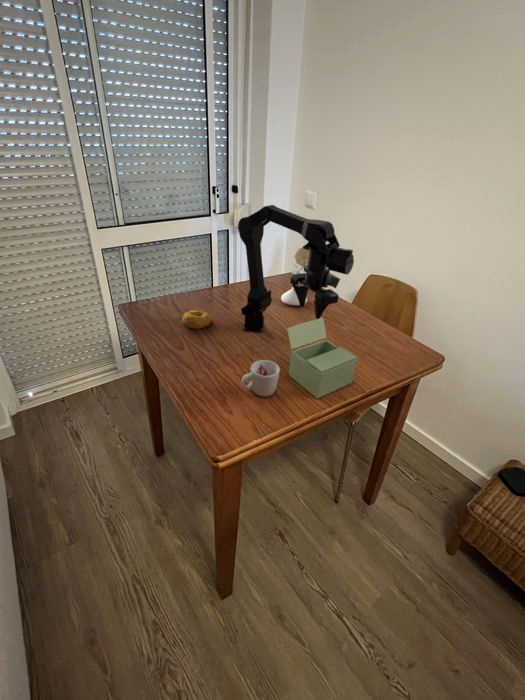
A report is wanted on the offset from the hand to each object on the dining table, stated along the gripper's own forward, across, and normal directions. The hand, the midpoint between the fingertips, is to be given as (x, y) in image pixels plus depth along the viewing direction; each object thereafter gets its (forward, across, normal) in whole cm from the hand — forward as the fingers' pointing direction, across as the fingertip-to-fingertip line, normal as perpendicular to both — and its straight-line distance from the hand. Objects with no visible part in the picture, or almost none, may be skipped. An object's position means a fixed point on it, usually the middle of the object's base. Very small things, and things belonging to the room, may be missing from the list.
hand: (309, 312), depth 114 cm
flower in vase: (+14, +33, -16) cm, 39 cm away
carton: (+13, -17, +5) cm, 22 cm away
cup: (+14, -16, +25) cm, 32 cm away
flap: (+1, -9, +7) cm, 11 cm away
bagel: (+14, +30, +29) cm, 44 cm away
